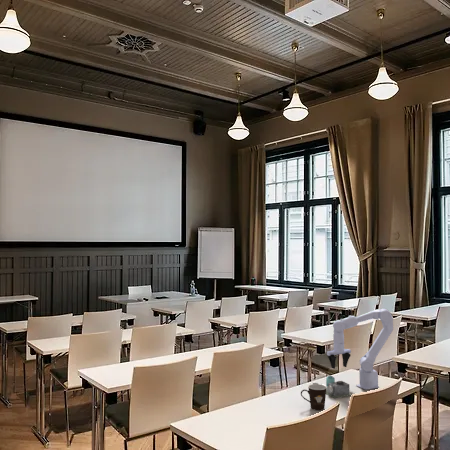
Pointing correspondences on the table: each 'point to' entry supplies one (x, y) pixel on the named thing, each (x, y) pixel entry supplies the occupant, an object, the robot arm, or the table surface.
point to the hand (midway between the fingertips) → (339, 367)
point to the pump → (329, 380)
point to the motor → (337, 389)
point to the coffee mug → (316, 396)
